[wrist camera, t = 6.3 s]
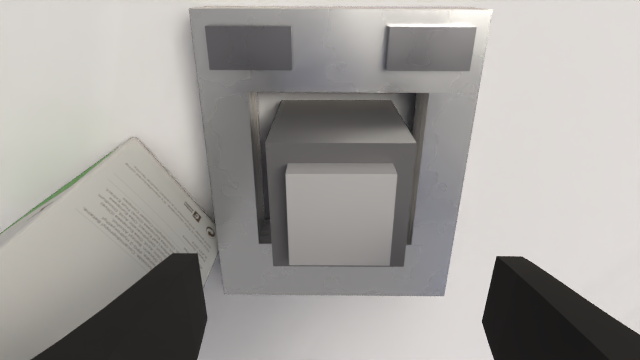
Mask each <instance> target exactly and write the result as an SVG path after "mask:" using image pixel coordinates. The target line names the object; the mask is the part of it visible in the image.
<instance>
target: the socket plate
mask: <svg viewBox="0 0 640 360" xmlns="http://www.w3.org/2000/svg"><path fill="white" fill-rule="evenodd" d="M189 14H190V22H191V30H192V38H193V46H194V54H195V62H196V70H197V78H198V87H199V95H200V103H201V111H202V119H203V127H204V135H205V143H206V151H207V159H208V167H209V176H210V184H211V192H212V200H213V208H214V216H215V224H216V232H217V240H218V248H219V257H220V265H221V273H222V281H223V289H224V294H265V295H374V296H444V293H445V287H446V281H447V275H448V270H449V264H450V258H451V252H452V246H453V240H454V234H455V228H456V222H457V216H458V210H459V205H460V199H461V193H462V187H463V181H464V175H465V169H466V163H467V157H468V151H469V146H470V140H471V134H472V128H473V122H474V116H475V110H476V104H477V98H478V92H479V86H480V81H481V75H482V69H483V63H484V57H485V51H486V45H487V39H488V33H489V27H490V22H491V16H492V10H491V9H482V8H474V7H241V6H204V7H197V8H189ZM257 92H364V93H416V102H415V112H414V121H413V131H412V136H413V138H414V139H415V141H416V143H417V145H416V155H415V164H414V174H413V184H412V193H411V203H410V213H409V222H408V232H407V242H406V251H405V261H404V267H330V266H273V257H272V242H271V226H270V220H265V211H264V195H263V180H262V164H261V148H260V132H259V116H258V100H257Z"/></svg>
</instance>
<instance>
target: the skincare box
mask: <svg viewBox="0 0 640 360" xmlns="http://www.w3.org/2000/svg"><path fill="white" fill-rule="evenodd" d="M218 252H219V248H218V240H217V232H216V225H215V224H214V223H213V222H212V221H211V220H210V219H209V217H208V216H207V215H206V214H205V213H204V212H203V211H202V210H201V209H200V207H199V206H198V205H197V204H196V203H195V202H194V201H193V200H192V199H191V197H190V196H189V195H188V194H187V193H186V192H185V191H184V190H183V189H182V187H181V186H180V185H179V184H178V183H177V182H176V181H175V180H174V179H173V177H172V176H171V175H170V174H169V173H168V172H167V171H166V170H165V169H164V168H163V167H162V165H161V164H160V163H159V162H158V161H157V160H156V159H155V158H154V156H153V155H152V154H151V153H150V152H149V151H148V150H147V149H146V148H145V147H144V146H143V144H142V143H141V142H140V141H139V140H138V139H137V138H131V139H129V140H128V141H126V142H125V143H123V144H122V145H121V146H119V147H118V148H116V149H115V150H114V151H112V152H111V153H109V154H108V155H107V156H105V157H104V158H103V159H101V160H100V161H98V162H97V163H96V164H94V165H93V166H92V167H90V168H89V169H87V170H86V171H85V172H83V173H82V174H80V175H79V176H78V177H76V178H75V179H73V180H72V181H71V182H69V183H68V184H66V185H65V186H64V187H62V188H61V189H59V190H58V191H57V192H55V193H54V194H53V195H51V196H50V197H49V198H47V199H46V200H44V201H43V202H42V203H40V204H39V205H38V206H36V207H35V208H33V209H32V210H31V211H30V212H28V213H27V214H26V215H24V216H23V217H22V218H20V219H19V220H18V221H16V222H15V223H14V224H12V225H11V226H10V227H8V228H7V229H6V230H4V231H3V232H2V233H0V360H31V359H32V358H34V357H35V356H37V355H38V354H40V353H41V352H43V351H44V350H46V349H47V348H49V347H50V346H52V345H53V344H55V343H56V342H58V341H59V340H61V339H62V338H63V337H65V336H66V335H67V334H69V333H70V332H71V331H73V330H74V329H76V328H77V327H78V326H80V325H81V324H82V323H84V322H85V321H87V320H88V319H89V318H91V317H92V316H93V315H95V314H96V313H97V312H99V311H100V310H102V309H103V308H104V307H106V306H107V305H108V304H109V303H111V302H112V301H113V300H114V299H116V298H117V297H118V296H119V295H121V294H122V293H123V292H124V291H126V290H127V289H128V288H130V287H131V286H132V285H133V284H135V283H136V282H137V281H138V280H139V279H141V278H142V277H143V276H144V275H146V274H147V273H148V272H149V271H150V270H152V269H153V268H154V267H155V266H157V265H158V264H159V263H160V262H162V261H163V260H164V259H165V258H167V257H168V256H169V255H171V254H172V253H198V259H199V265H200V272H201V279H202V286H203V288H204V286H205V283H206V281H207V278H208V276H209V273H210V271H211V268H212V266H213V264H214V261H215V259H216V256H217V254H218Z"/></svg>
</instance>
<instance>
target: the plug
mask: <svg viewBox="0 0 640 360" xmlns="http://www.w3.org/2000/svg"><path fill="white" fill-rule="evenodd" d="M416 145H417V143H416V141H415V139H414V138H413V136H412V134H411V133H410V131H409V129H408V128H407V126H406V124H405V123H404V121H403V119H402V118H401V116H400V114H399V113H398V111H397V109H396V108H395V106H394V104H393V103H392V101H391V100H282V101H281V104H280V106H279V109H278V111H277V114H276V117H275V119H274V122H273V124H272V127H271V129H270V132H269V134H268V137H267V140H266V142H265V149H266V164H267V180H268V195H269V211H270V226H271V242H272V257H273V266H330V267H404V261H405V251H406V242H407V232H408V222H409V213H410V203H411V193H412V184H413V174H414V164H415V155H416Z"/></svg>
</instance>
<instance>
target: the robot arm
mask: <svg viewBox="0 0 640 360" xmlns="http://www.w3.org/2000/svg"><path fill="white" fill-rule="evenodd" d="M206 322H207V312H206V306H205V299H204V292H203V286H202V279H201V272H200V265H199V259H198V253H172V254H171V255H169V256H168V257H167V258H165V259H164V260H163V261H162V262H160V263H159V264H158V265H157V266H155V267H154V268H153V269H152V270H150V271H149V272H148V273H147V274H146V275H144V276H143V277H142V278H141V279H139V280H138V281H137V282H136V283H135V284H133V285H132V286H131V287H130V288H128V289H127V290H126V291H124V292H123V293H122V294H121V295H119V296H118V297H117V298H116V299H114V300H113V301H112V302H111V303H109V304H108V305H107V306H106V307H104V308H103V309H102V310H100V311H99V312H97V313H96V314H95V315H93V316H92V317H91V318H89V319H88V320H87V321H85V322H84V323H82V324H81V325H80V326H78V327H77V328H76V329H74V330H73V331H71V332H70V333H69V334H67V335H66V336H65V337H63V338H62V339H61V340H59V341H58V342H56V343H55V344H53V345H52V346H50V347H49V348H47V349H46V350H44V351H43V352H41V353H40V354H38V355H37V356H35V357H34V358H32V359H31V360H197V358H198V354H199V350H200V346H201V343H202V339H203V334H204V330H205V326H206ZM482 323H483V327H484V330H485V333H486V336H487V340H488V343H489V346H490V349H491V352H492V355H493V358H494V360H640V335H639V334H638V333H636V332H635V331H633V330H631V329H630V328H628V327H627V326H625V325H624V324H622V323H621V322H619V321H618V320H616V319H614V318H613V317H611V316H610V315H608V314H607V313H605V312H604V311H602V310H601V309H599V308H598V307H597V306H595V305H594V304H592V303H591V302H589V301H588V300H586V299H585V298H583V297H582V296H580V295H579V294H578V293H576V292H575V291H573V290H572V289H570V288H569V287H567V286H566V285H565V284H563V283H562V282H560V281H559V280H557V279H556V278H554V277H553V276H551V275H550V274H549V273H547V272H546V271H544V270H543V269H541V268H540V267H538V266H537V265H535V264H534V263H532V262H530V261H529V260H527V259H525V258H524V257H514V256H497V257H496V261H495V265H494V270H493V274H492V279H491V283H490V288H489V292H488V297H487V301H486V305H485V310H484V314H483V319H482Z"/></svg>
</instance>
